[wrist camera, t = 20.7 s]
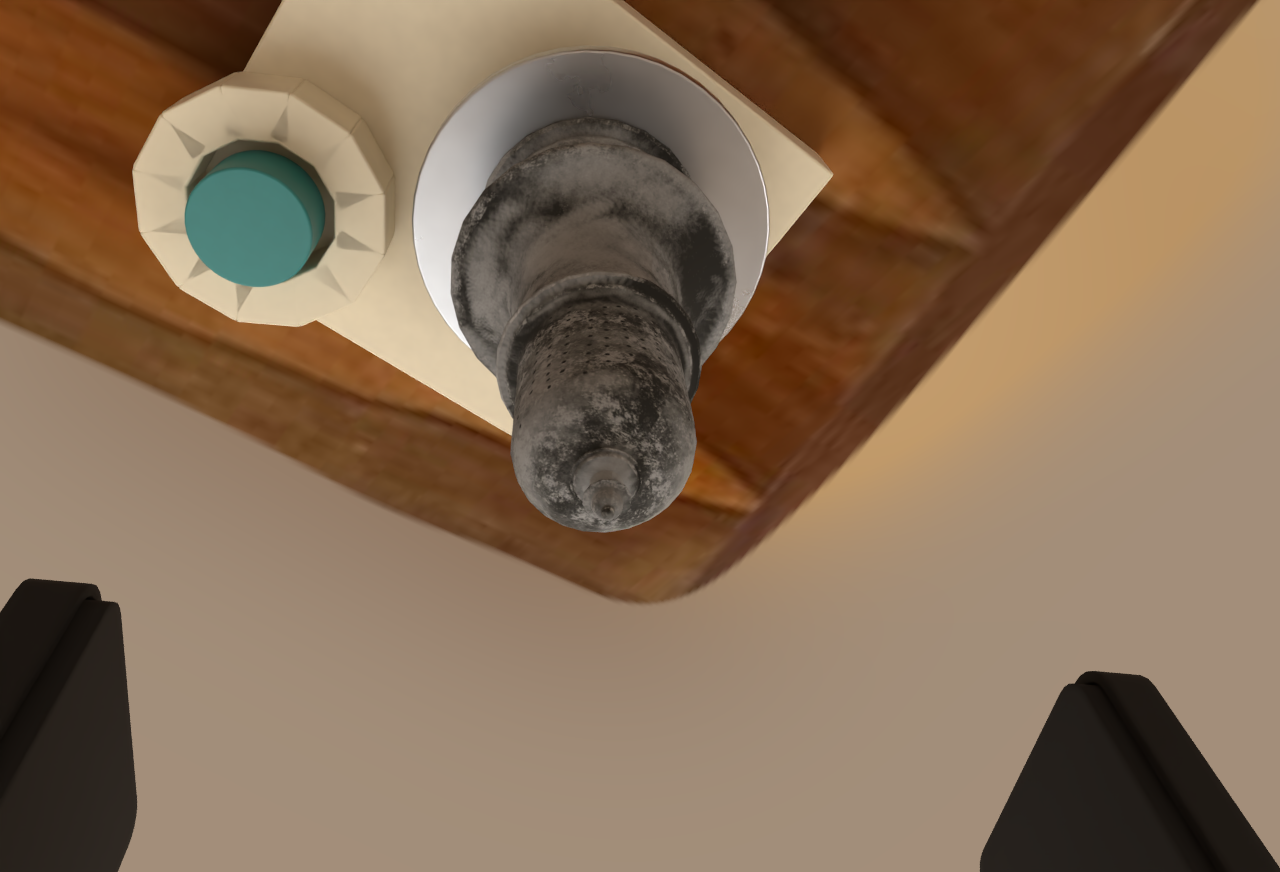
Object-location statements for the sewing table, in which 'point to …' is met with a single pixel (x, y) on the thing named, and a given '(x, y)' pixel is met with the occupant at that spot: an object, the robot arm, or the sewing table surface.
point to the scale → (393, 157)
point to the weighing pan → (596, 90)
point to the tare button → (255, 218)
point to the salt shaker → (595, 315)
